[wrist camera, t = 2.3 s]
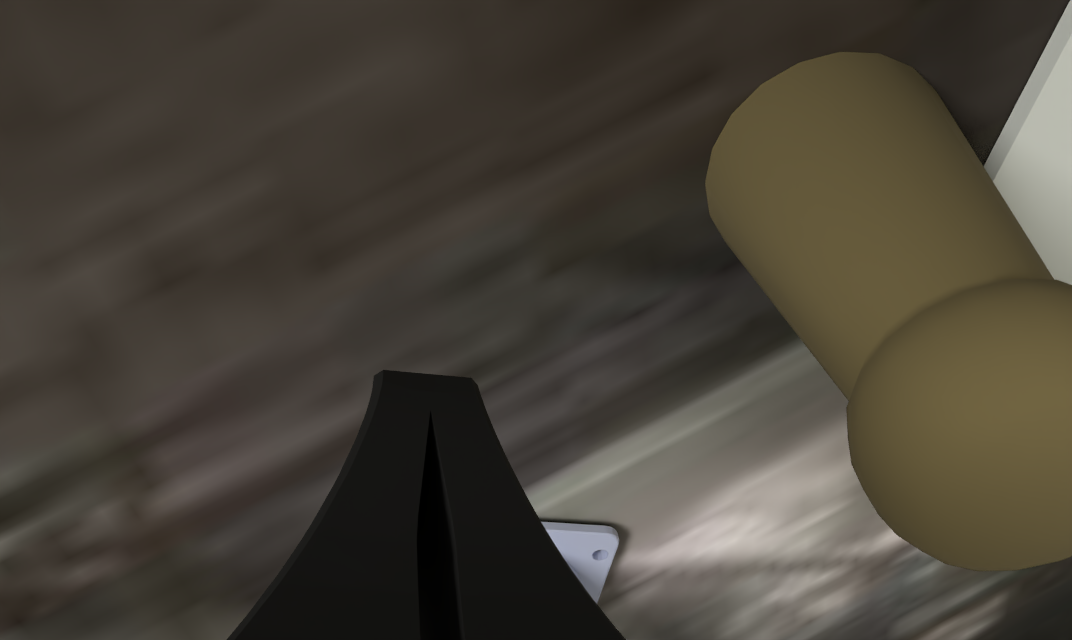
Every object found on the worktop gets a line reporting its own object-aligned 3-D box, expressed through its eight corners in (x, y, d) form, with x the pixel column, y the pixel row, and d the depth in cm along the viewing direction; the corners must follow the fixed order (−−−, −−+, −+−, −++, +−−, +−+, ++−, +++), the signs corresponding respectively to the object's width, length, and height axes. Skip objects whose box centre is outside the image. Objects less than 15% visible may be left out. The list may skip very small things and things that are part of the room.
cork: (970, 37, 22) (1333, 330, 13) (925, 257, 26) (1186, 600, 17) (708, 66, 22) (900, 381, 13) (701, 283, 25) (846, 644, 17)
